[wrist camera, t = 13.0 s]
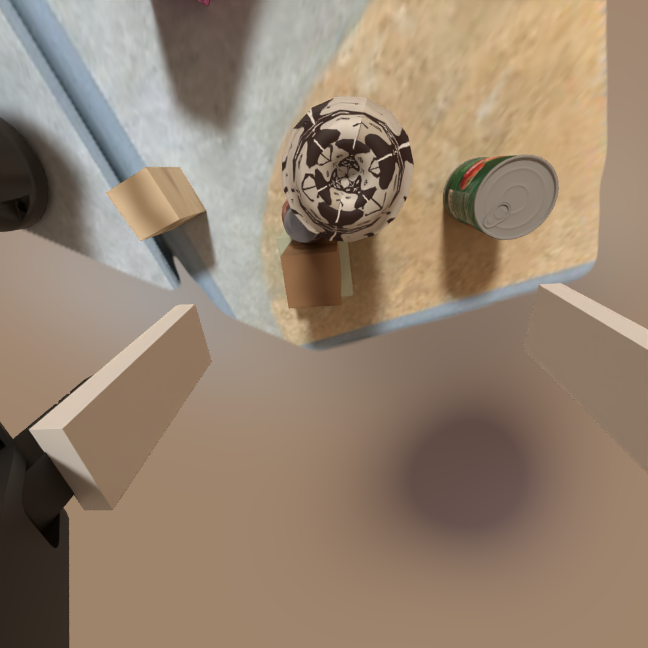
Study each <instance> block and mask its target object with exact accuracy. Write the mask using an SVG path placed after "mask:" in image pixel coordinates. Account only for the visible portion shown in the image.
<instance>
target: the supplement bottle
mask: <svg viewBox="0 0 648 648" xmlns="http://www.w3.org/2000/svg"><path fill="white" fill-rule="evenodd" d="M282 221H283V224H284V227H285V230H286V232H287V234H288V235H289V236H290V237H291V238H292V239H293V240H295V241H297V242H301V243H314V242H318V241H320V240H322V239H323V237H321V236H319V235H317V234H316V233H314V232H312V231H310V230H308V229H307V228H306V227H305V226H304V224H303V223H302V222H301V221H300V220H299V219H298V218H297V216H296V215H295V214H294V213H293V212H292V211H291V208H290V205H289V202H288V200H287V199H286V201H285V203H284V205H283V209H282Z"/></svg>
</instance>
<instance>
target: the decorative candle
mask: <svg viewBox="0 0 648 648" xmlns="http://www.w3.org/2000/svg"><path fill="white" fill-rule="evenodd" d="M413 168H414V163H413V158H412V153H411V148H410V143H409V138H408V136H407V134H406V133H405V131H404V130H403V128H402V127H401V125H400V124H399V122H398V121H397V119H396V118H395V116H394V115H393V113H392V112H390V111H389V110H387V109H385V108H384V107H382V106H380V105H379V104H377V103H375V102H374V101H372V100H370V99H369V98H364V97H347V96H338V97H335V98H333V99H331V100H328V101H326V102H324V103H322V104H319V105H317V106H315V107H312V108H311V109H310V111H309V112H308V113H307V114H306V115H305V116H304V117H303V118H302V119H301V121H300V122H299V123H298V124H297V125H296V126H295V127H294V128H293V129H292V132H291V135H290V137H289V140H288V143H287V146H286V148H285V151H284V154H283V156H282V186H283V189H284V192H285V194H286V197H287V200H288V202H289V205H290V208H291V211H292V212H293V213H294V214H295V215H296V216H297V218H298V219H299V220H300V221H301V222H302V223H303V224H304V226H305V227H306V228H307V229H308V230H310V231H312V232H314V233H316V234H317V235H319V236H321V237H323V238H325V239H327V240H329V241H343V242H355V241H358V240H361V239H364V238H367V237H370V236H373V235H376V234H377V233H378V232H380V231H381V230H382V229H383V228H384V227H385V226H387V225H388V224H389V223H390V222H391V221H393V220H394V219H395V218H396V216H397V215H398V213H399V211H400V209H401V208H402V206H403V204H404V202H405V201H406V199H407V197H408V195H409V192H410V186H411V180H412V174H413Z"/></svg>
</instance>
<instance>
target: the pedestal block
mask: <svg viewBox="0 0 648 648" xmlns="http://www.w3.org/2000/svg"><path fill="white" fill-rule="evenodd" d="M292 240H293V239H292V238H291V237H290V236H289V235H288V234H287V232H286V231H285V232H282V233H281V234H280V235H279V237H278V238H277V243H278V248H279V253H280V256H281V255H282V253H283V252H284V251H285V249H286V248H287V246H288V245H289V243H290V242H291V241H292ZM338 243H339V256H340V269H341V297H345V296H353V286H352V276H351V267H350V257H349V248H348V242H343V241H338ZM280 258H281V257H280Z"/></svg>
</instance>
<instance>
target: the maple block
mask: <svg viewBox="0 0 648 648" xmlns="http://www.w3.org/2000/svg"><path fill="white" fill-rule="evenodd" d="M106 194H107V195H108V197H109V198H110V199H111V201H112V202H113V204H114V205H115V206H116V208H117V209H118V210H119V212H120V213H121V215H122V216H123V217H124V219H125V220H126V222H127V223H128V224H129V226H130V227H131V228H132V230H133V231H134V233H135V234H136V235H137V237H138V238H139V239H140V241H142V240H145V239H148V238H151V237H153V236H156V235H159V234H162V233H164V232H167V231H170V230H172V229H174V228H176V227H178V226H180V225H181V224H183V223H185V222H187V221H189V220H190V219H192V218H194V217H196V216H197V215H199V214H201V213H203V212H205V211H206V209H205V208H204V206H203V204H202V203H201V201H200V199H199V198H198V196H197V194H196V193H195V191H194V189H193V188H192V186H191V185H190V183H189V181H188V180H187V178H186V176H185V175H184V173H183V171H182V170H181V168H180V167H145V168H144V169H142V170H141V171H139V172H138V173H136V174H134V175H133V176H131V177H130V178H128V179H127V180H125V181H124V182H122V183H120V184H119V185H117V186H116V187H114V188H113V189H111V190H109V191H108V192H106Z"/></svg>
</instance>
